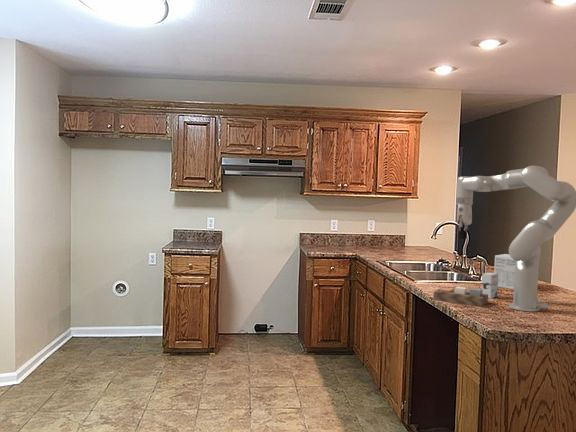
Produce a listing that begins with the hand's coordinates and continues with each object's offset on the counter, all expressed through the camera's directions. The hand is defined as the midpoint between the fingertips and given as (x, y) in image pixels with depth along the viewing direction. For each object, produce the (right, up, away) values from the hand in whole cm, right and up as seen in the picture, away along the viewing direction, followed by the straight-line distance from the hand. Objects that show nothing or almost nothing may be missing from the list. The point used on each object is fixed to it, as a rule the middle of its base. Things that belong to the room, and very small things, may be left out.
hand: (462, 238), depth 239 cm
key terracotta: (-10, -28, -4) cm, 30 cm away
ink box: (+15, -30, +4) cm, 33 cm away
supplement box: (+38, -29, +33) cm, 58 cm away
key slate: (+2, -27, -12) cm, 30 cm away
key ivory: (-4, -27, -8) cm, 29 cm away
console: (-4, -29, -8) cm, 31 cm away
